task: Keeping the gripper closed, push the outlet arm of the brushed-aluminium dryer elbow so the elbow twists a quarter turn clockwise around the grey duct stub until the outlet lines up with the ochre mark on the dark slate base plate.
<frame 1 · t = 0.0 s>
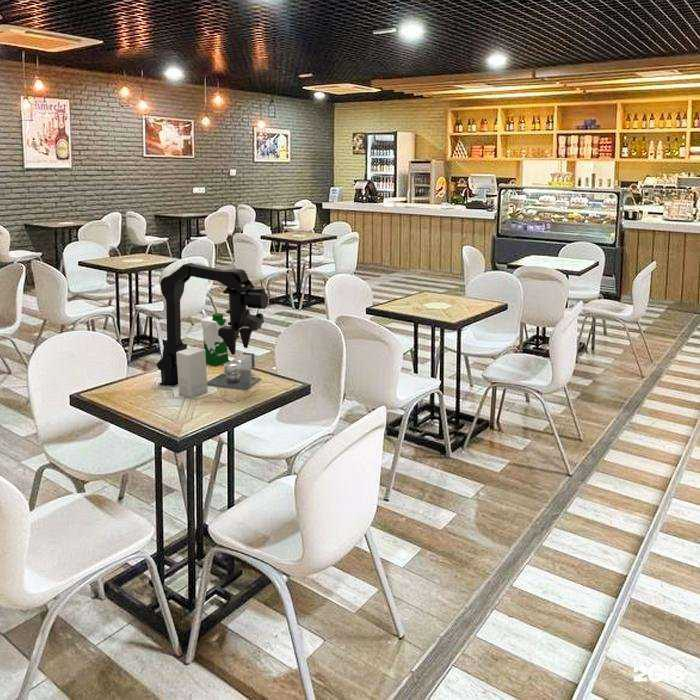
hand: (239, 351, 250), 15 cm above the table, fingers open, 9 cm apart
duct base: (233, 382, 264), on the table
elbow: (239, 365, 267), point 5 cm above the table, hinge at 90.0°
skincare box: (193, 393, 253), on the table
milk carton: (216, 363, 289), on the table
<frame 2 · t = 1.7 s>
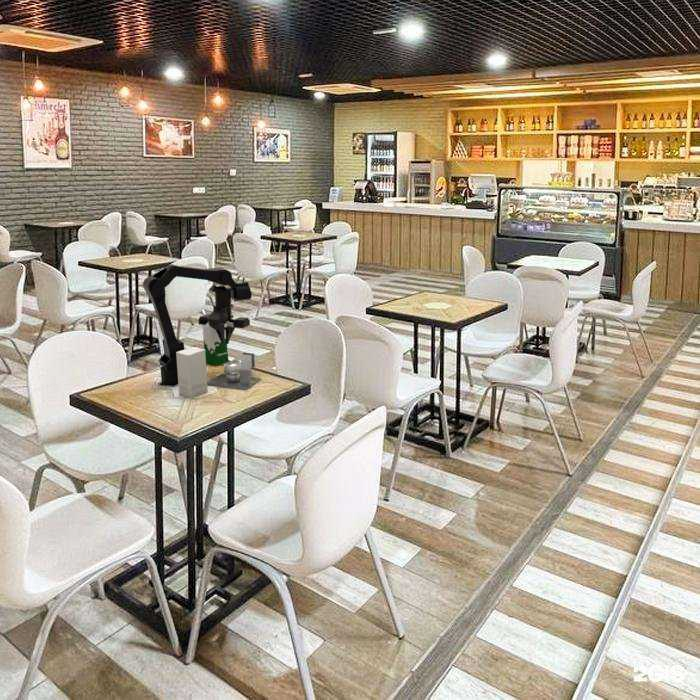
hand: (225, 343, 271), 12 cm above the table, fingers closed
nothing on the table moved.
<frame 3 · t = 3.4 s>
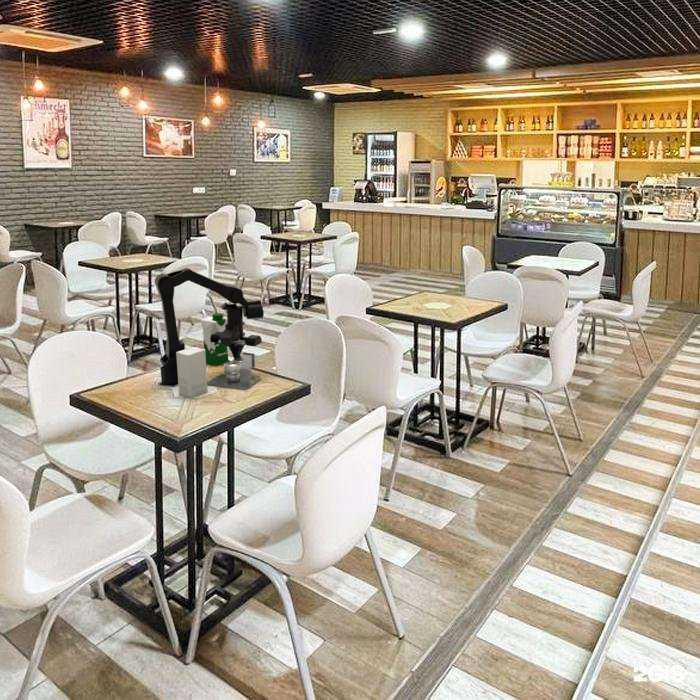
hand: (236, 361, 271), 6 cm above the table, fingers closed
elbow: (239, 365, 267), point 5 cm above the table, hinge at 89.8°, touching gripper
everything else where it was.
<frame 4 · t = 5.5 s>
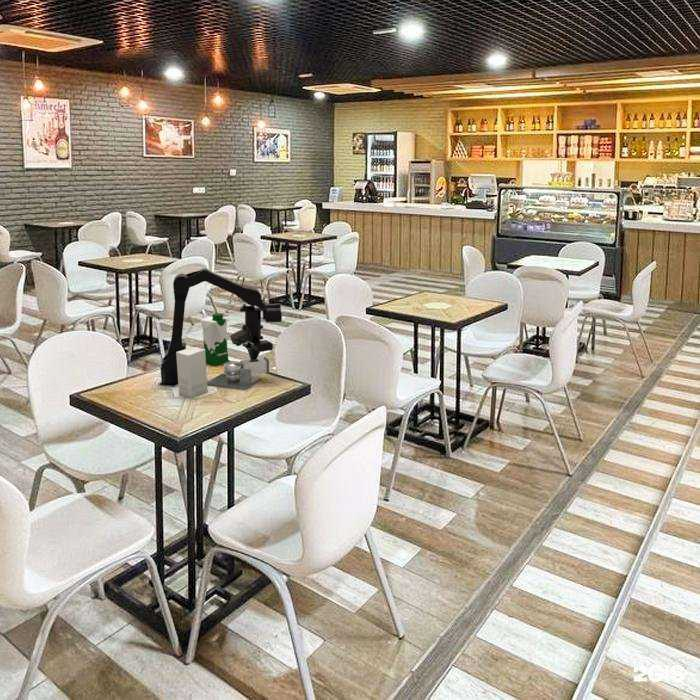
hand: (253, 363, 268), 6 cm above the table, fingers closed
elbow: (246, 367, 264), point 5 cm above the table, hinge at 41.2°, touching gripper
everything else where it was.
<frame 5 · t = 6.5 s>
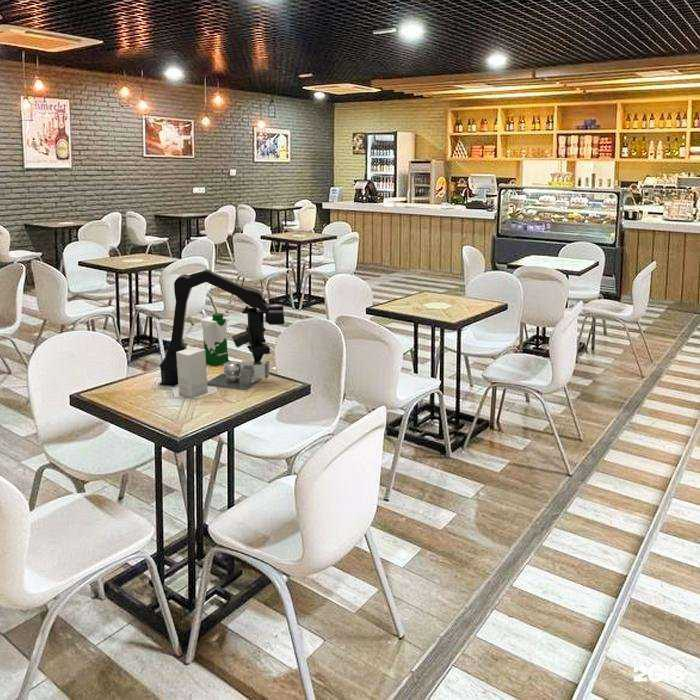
hand: (257, 365, 265), 6 cm above the table, fingers closed
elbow: (246, 369, 262), point 5 cm above the table, hinge at 15.6°, touching gripper
everything else where it was.
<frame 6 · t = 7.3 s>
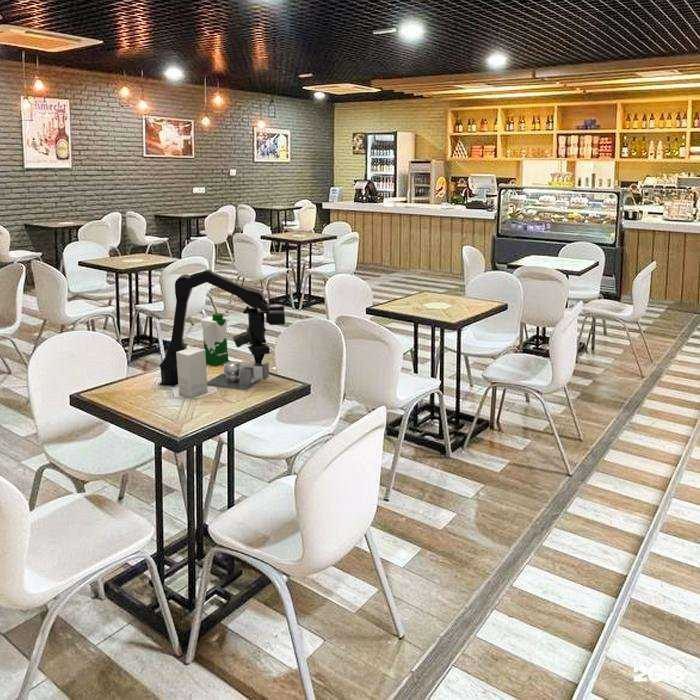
hand: (257, 366, 264), 6 cm above the table, fingers closed
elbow: (245, 369, 261), point 5 cm above the table, hinge at 6.1°
everything else where it was.
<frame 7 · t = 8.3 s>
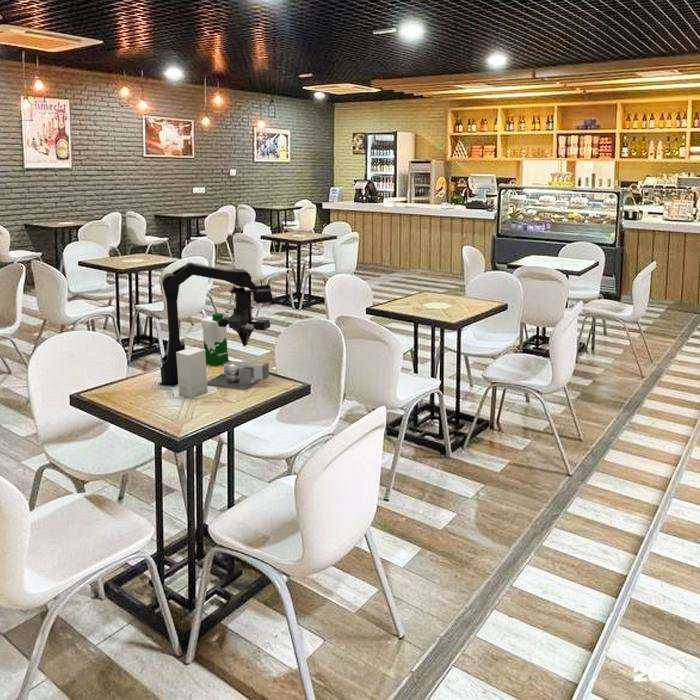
hand: (245, 346, 268), 12 cm above the table, fingers closed
nothing on the table moved.
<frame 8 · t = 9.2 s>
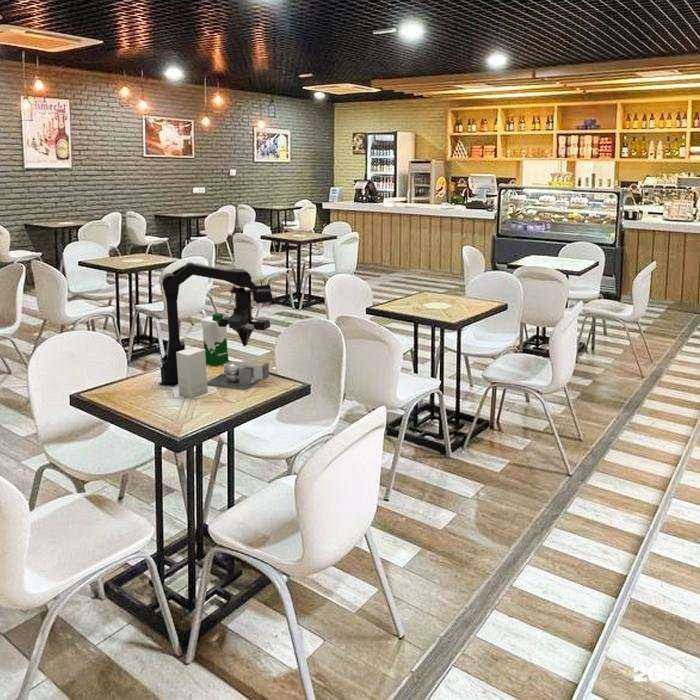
hand: (245, 345, 268), 12 cm above the table, fingers closed
nothing on the table moved.
at the end: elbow at +6° (first picture: +90°); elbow touching nothing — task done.
